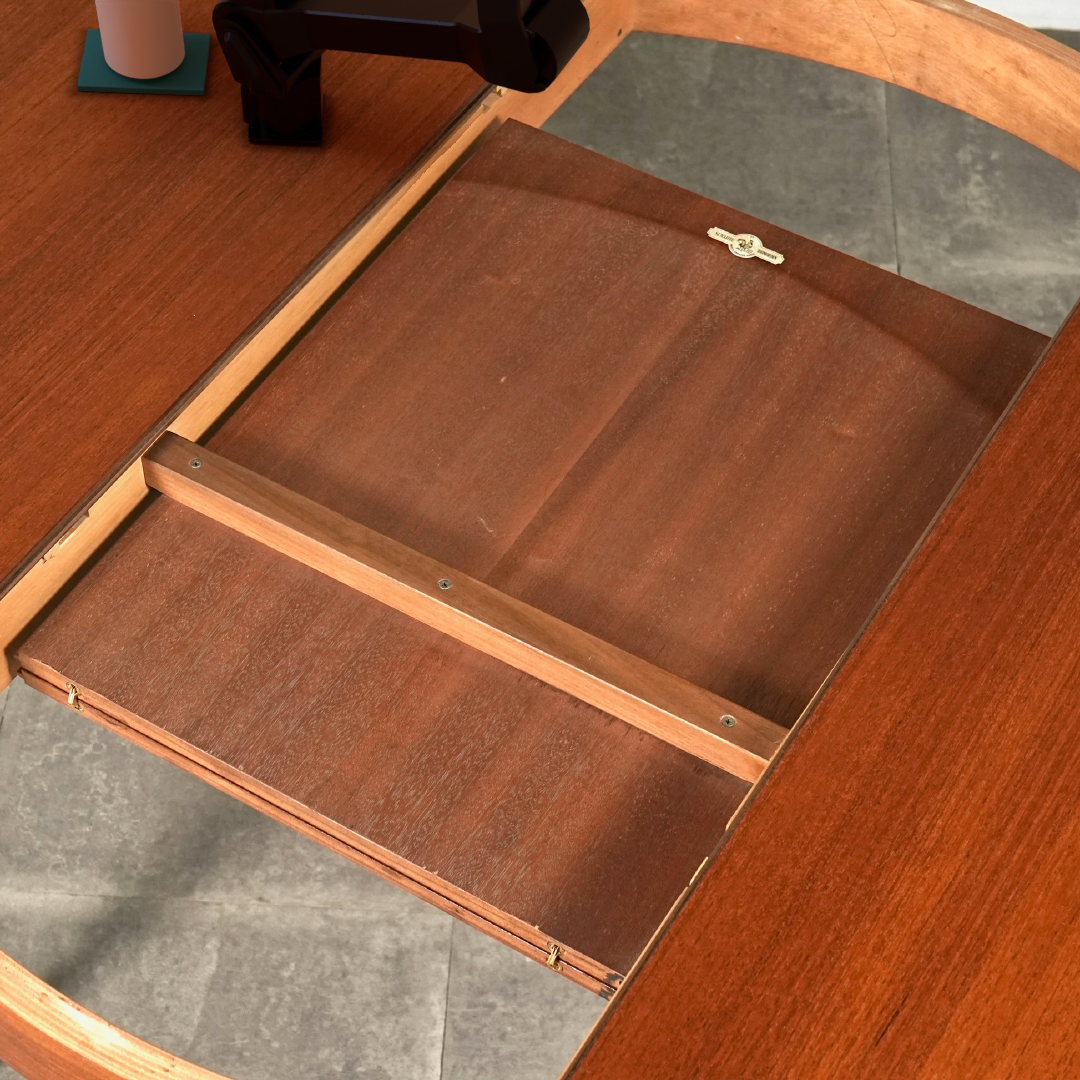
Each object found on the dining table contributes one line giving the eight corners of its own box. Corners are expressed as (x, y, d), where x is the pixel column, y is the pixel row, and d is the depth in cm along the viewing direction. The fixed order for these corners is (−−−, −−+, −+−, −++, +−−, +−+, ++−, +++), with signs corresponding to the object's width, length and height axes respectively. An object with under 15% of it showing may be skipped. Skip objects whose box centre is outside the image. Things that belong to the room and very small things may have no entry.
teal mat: (211, 39, 146) (210, 33, 146) (204, 95, 142) (203, 90, 141) (88, 34, 145) (87, 28, 145) (77, 91, 141) (76, 85, 140)
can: (172, 90, 141) (156, -27, 131) (94, 77, 141) (73, -41, 131) (195, 41, 145) (181, -76, 135) (119, 28, 145) (100, -90, 135)
